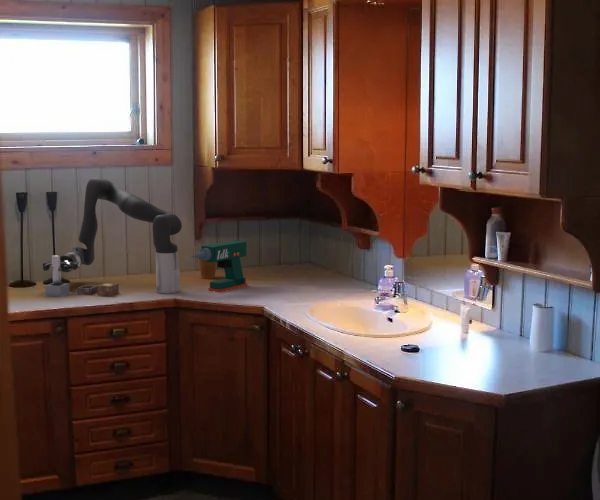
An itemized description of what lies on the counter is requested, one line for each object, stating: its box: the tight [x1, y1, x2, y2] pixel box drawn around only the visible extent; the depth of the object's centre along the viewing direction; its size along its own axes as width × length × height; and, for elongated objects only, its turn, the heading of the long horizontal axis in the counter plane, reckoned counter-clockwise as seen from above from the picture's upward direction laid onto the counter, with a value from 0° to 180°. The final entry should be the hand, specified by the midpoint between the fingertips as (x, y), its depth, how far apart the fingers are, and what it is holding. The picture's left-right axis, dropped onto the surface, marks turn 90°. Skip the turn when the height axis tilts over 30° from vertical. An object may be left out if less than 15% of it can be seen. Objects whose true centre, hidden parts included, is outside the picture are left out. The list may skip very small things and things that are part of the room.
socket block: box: [70, 282, 126, 298], centre depth 339 cm, size 21×9×5 cm, turn 75°
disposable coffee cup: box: [198, 258, 217, 280], centre depth 380 cm, size 10×10×12 cm
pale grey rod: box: [51, 254, 62, 286], centre depth 337 cm, size 3×3×16 cm
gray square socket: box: [41, 282, 74, 298], centre depth 338 cm, size 9×9×5 cm
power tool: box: [191, 240, 248, 293], centre depth 350 cm, size 32×7×20 cm, turn 143°
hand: (54, 268), depth 335 cm, fingers open, 8 cm apart
